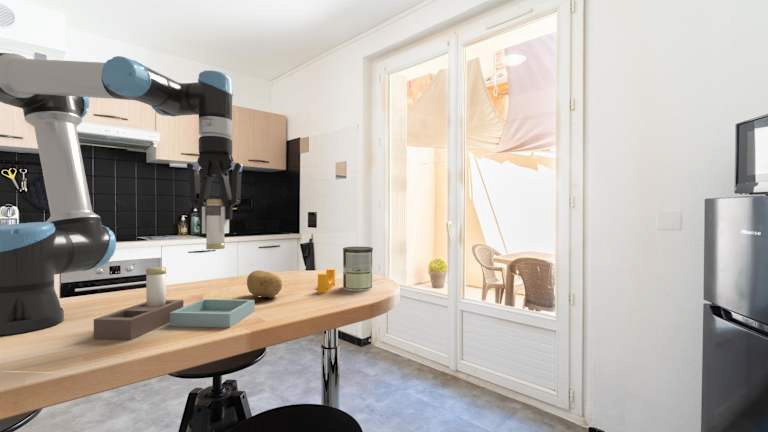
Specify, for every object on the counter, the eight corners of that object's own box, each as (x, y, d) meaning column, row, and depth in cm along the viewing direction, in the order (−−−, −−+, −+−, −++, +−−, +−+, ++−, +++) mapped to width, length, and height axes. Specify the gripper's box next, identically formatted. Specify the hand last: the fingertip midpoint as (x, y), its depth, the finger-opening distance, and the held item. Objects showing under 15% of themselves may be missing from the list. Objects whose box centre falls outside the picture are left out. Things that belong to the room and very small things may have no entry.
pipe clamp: (323, 286, 134) (323, 268, 134) (334, 287, 134) (335, 268, 134) (312, 294, 123) (312, 274, 123) (325, 294, 122) (325, 274, 122)
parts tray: (169, 326, 86) (169, 312, 86) (202, 310, 100) (202, 298, 100) (229, 327, 85) (229, 314, 85) (254, 311, 99) (254, 299, 99)
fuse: (141, 320, 89) (142, 269, 89) (153, 316, 93) (153, 267, 93) (158, 321, 88) (158, 269, 88) (169, 316, 92) (169, 267, 92)
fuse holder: (93, 338, 77) (93, 319, 77) (152, 315, 95) (152, 299, 95) (131, 339, 77) (131, 320, 77) (183, 316, 95) (183, 300, 95)
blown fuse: (202, 249, 91) (202, 199, 91) (211, 247, 95) (211, 199, 95) (219, 249, 90) (219, 199, 90) (227, 247, 95) (227, 199, 94)
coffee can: (337, 288, 132) (337, 247, 132) (361, 284, 138) (361, 246, 138) (354, 292, 124) (354, 249, 124) (378, 289, 130) (378, 248, 130)
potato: (259, 304, 107) (259, 276, 107) (239, 296, 118) (239, 270, 118) (290, 299, 114) (290, 272, 114) (269, 292, 124) (269, 267, 124)
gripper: (172, 134, 89) (172, 233, 89) (243, 134, 88) (243, 234, 88) (190, 140, 97) (190, 232, 97) (255, 140, 96) (255, 232, 96)
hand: (215, 233), depth 93 cm, fingers closed on blown fuse, 4 cm apart
